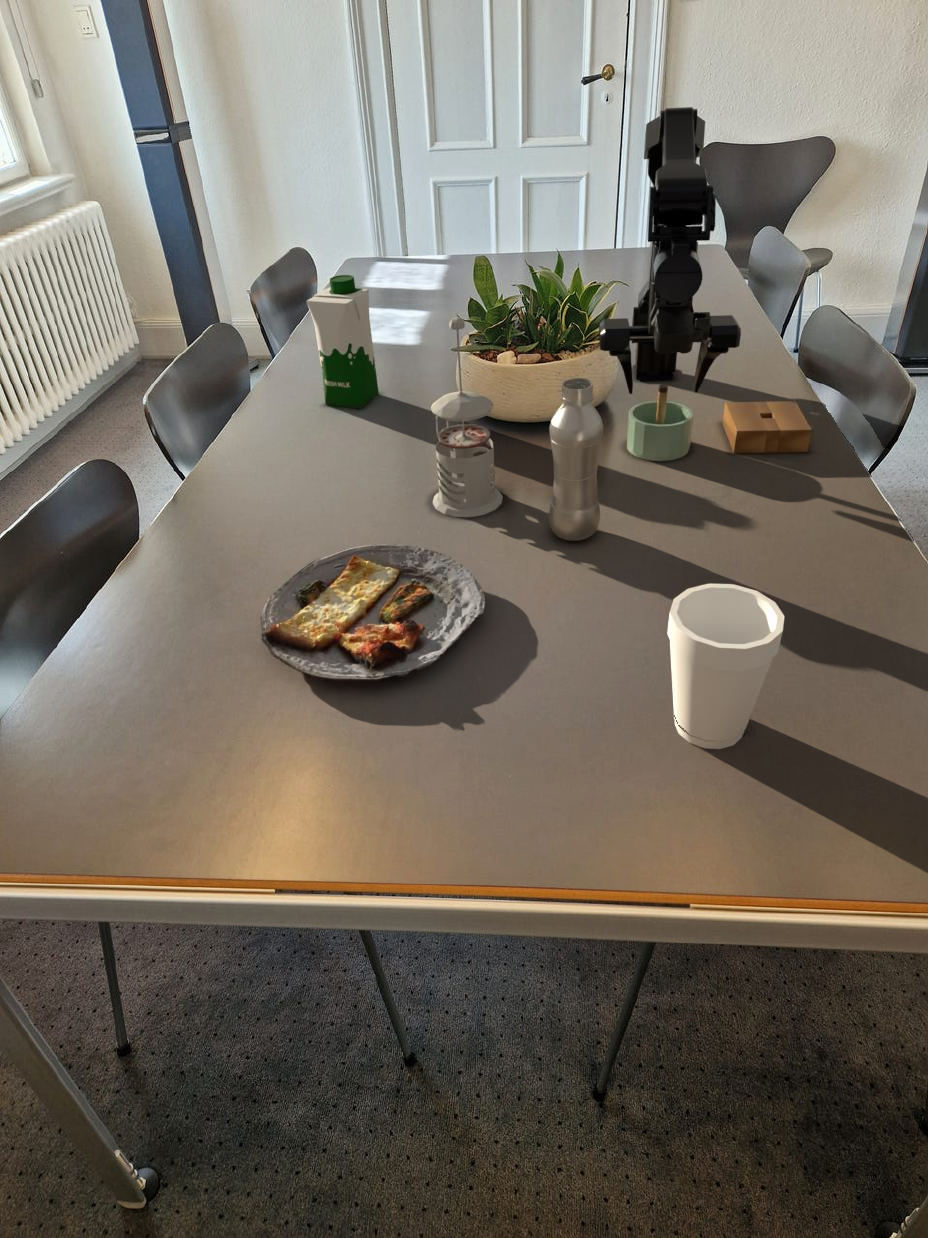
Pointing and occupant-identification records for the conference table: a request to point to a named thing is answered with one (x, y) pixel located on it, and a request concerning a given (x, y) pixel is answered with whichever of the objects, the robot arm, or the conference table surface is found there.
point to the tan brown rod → (661, 404)
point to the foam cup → (720, 659)
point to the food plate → (370, 613)
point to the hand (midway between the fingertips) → (662, 392)
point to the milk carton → (345, 343)
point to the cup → (659, 431)
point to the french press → (464, 452)
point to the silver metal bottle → (575, 462)
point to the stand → (766, 427)
